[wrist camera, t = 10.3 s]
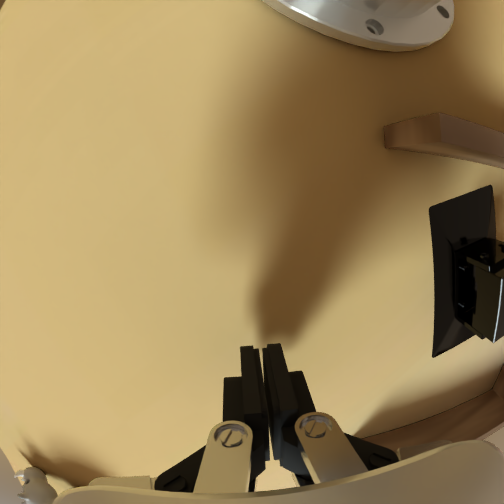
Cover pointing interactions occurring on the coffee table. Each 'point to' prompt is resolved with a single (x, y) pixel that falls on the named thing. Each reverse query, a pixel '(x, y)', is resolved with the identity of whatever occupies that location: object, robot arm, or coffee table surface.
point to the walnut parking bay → (500, 397)
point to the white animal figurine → (36, 487)
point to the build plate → (466, 270)
